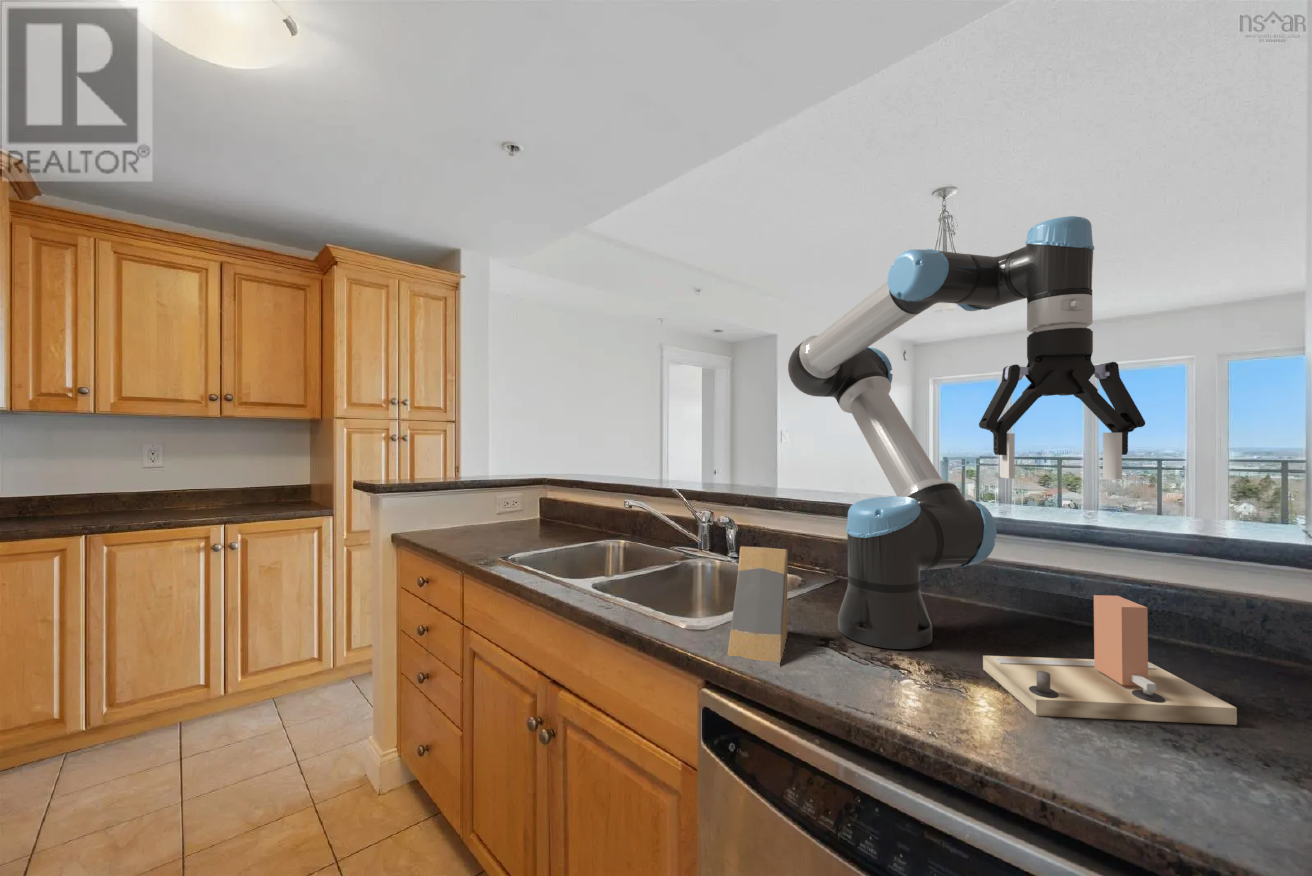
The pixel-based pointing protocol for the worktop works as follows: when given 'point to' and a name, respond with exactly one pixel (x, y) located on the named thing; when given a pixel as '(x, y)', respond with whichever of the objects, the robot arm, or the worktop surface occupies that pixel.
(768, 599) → the sandwich container
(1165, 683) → the board
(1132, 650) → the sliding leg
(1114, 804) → the worktop surface
